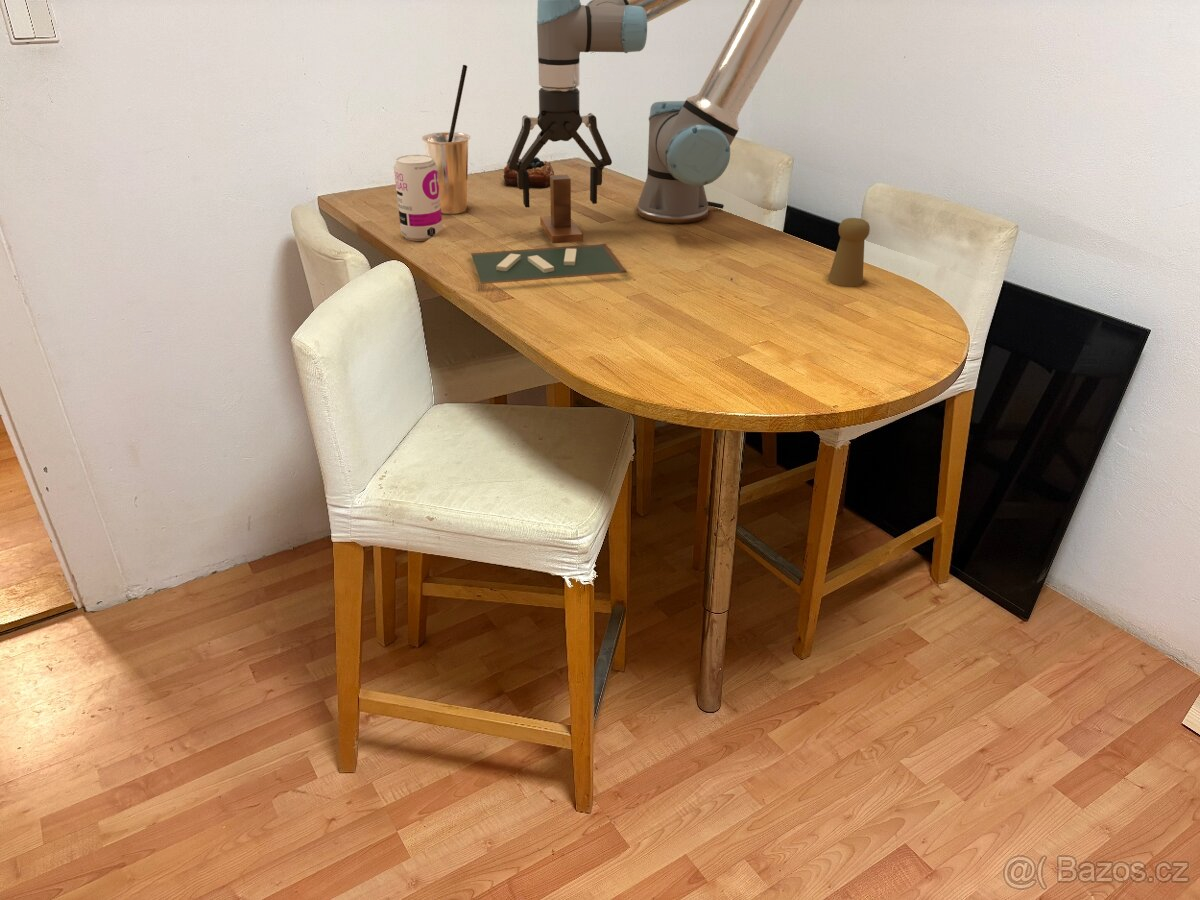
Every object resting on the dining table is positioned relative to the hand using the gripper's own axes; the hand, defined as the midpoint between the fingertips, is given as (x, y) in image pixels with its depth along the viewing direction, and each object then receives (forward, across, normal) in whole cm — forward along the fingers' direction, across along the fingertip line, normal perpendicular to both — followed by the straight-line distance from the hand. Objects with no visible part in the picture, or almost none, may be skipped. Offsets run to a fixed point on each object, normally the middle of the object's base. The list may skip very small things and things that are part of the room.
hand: (560, 203), depth 170 cm
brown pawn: (+7, -45, +34) cm, 57 cm away
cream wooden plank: (+6, +7, +18) cm, 21 cm away
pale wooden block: (+6, +1, +16) cm, 17 cm away
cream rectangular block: (+6, +13, +16) cm, 22 cm away
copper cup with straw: (+7, +19, -23) cm, 31 cm away
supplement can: (+7, +27, -7) cm, 29 cm away
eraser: (+7, 0, 0) cm, 7 cm away
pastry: (+7, -1, -43) cm, 44 cm away
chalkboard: (+7, +6, +17) cm, 19 cm away
